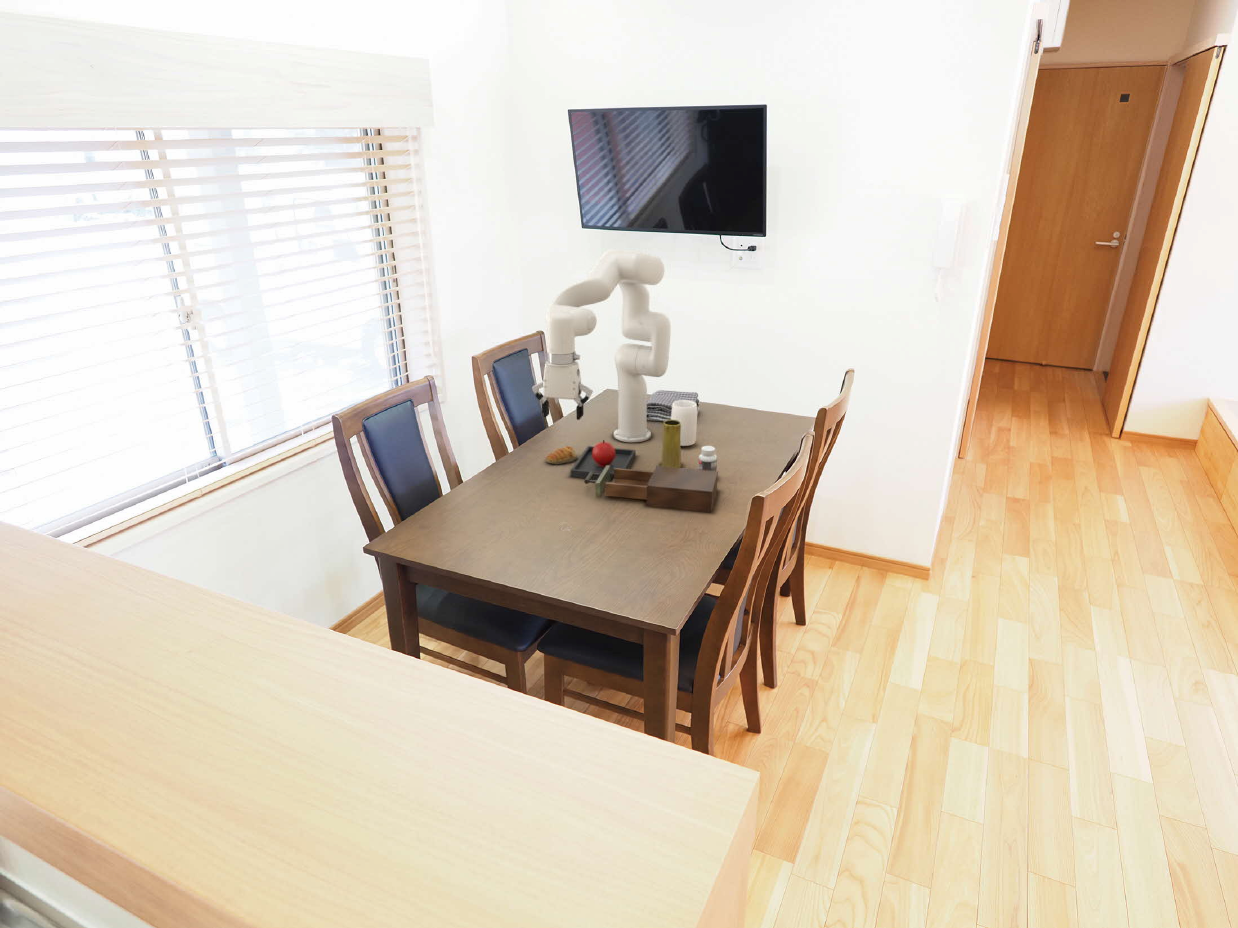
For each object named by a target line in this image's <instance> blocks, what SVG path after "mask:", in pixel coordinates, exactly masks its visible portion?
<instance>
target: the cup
mask: <svg viewBox="0 0 1238 928" xmlns="http://www.w3.org/2000/svg"><path fill="white" fill-rule="evenodd" d="M671 420H678V421H680V422H681V435H680V445H681V446H682V447H685V446H691V445H695V443H696V440H697V428H698V414H697V404H696V403H695V402H693V401H689V400H679V401H675V402H673V404H672V413H671Z"/></svg>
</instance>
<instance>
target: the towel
mask: <svg viewBox="0 0 1238 928" xmlns="http://www.w3.org/2000/svg"><path fill="white" fill-rule="evenodd" d="M698 397H699V394H698V392H694V391H692V392H691V391H690V392H689V391H676V390H664V389H663V390H662V389H659V390H657V391H655V392H653V393H652V394H651V395H650V396H649V398H648V399H647V420H648V421H653V422H664V421H666V420H671V413H672V404H673V402H675V401H679V400H689V401H693V402H695V403H696V404H697V415H698V414H699V412H700V404H699V402H700V400H699V398H698Z"/></svg>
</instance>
